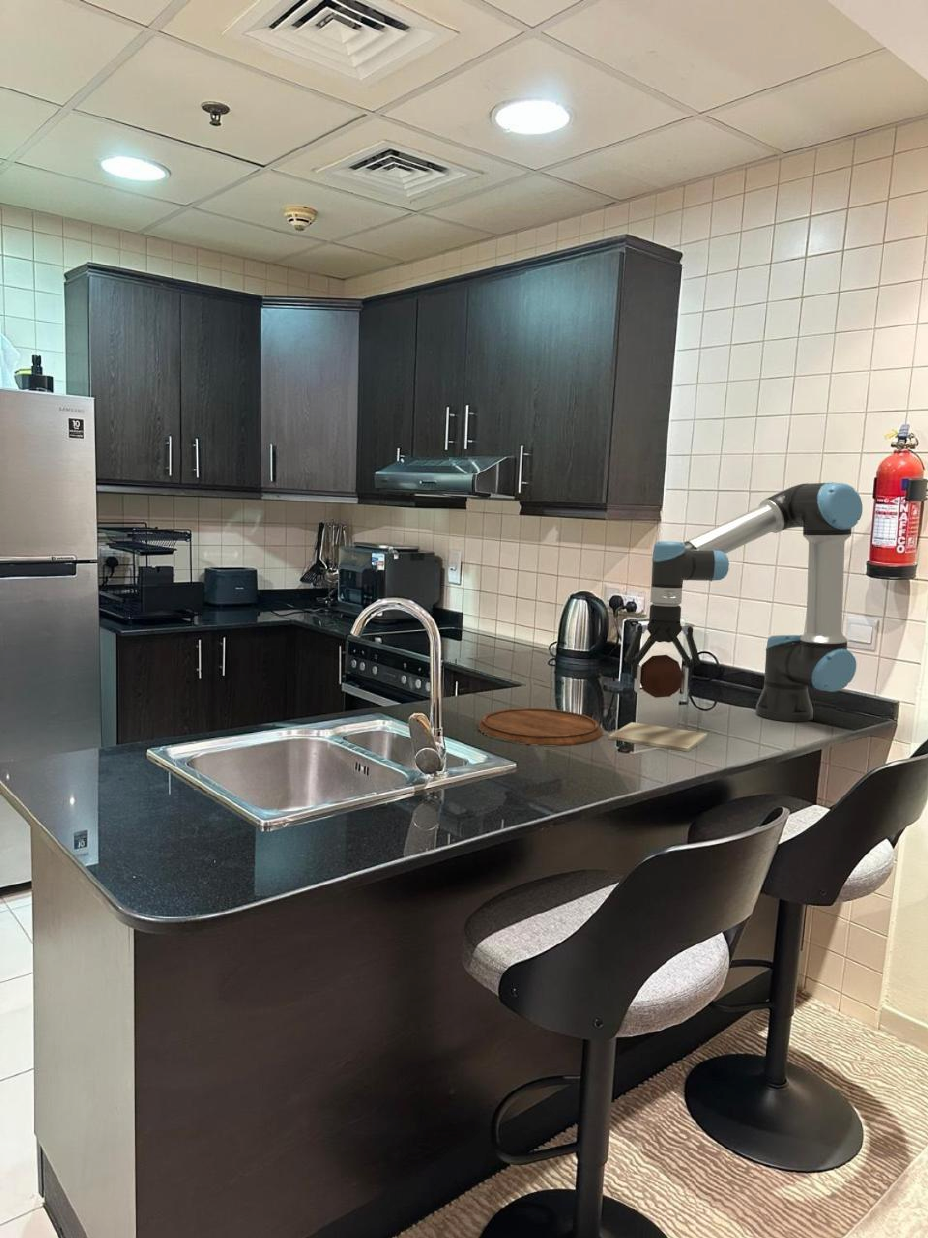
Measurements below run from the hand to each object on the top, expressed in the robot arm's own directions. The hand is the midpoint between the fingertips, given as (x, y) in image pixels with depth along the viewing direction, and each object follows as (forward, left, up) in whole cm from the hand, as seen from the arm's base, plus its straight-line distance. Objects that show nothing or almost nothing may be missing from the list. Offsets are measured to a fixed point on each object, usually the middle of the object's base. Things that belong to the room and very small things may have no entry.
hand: (660, 692), depth 216 cm
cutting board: (+28, +10, -12) cm, 32 cm away
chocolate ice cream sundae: (-4, +8, +4) cm, 10 cm away
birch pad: (0, 0, -12) cm, 12 cm away
